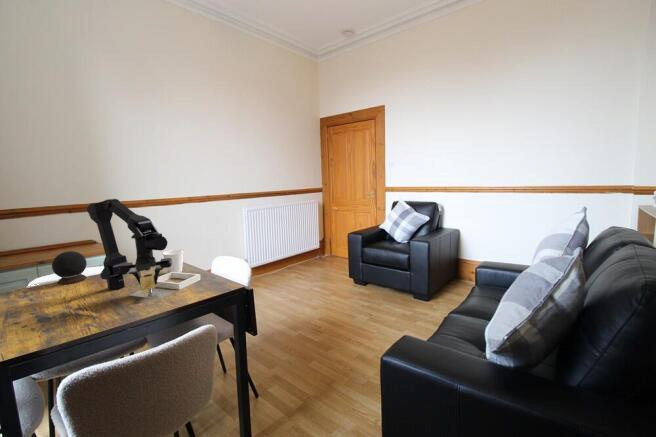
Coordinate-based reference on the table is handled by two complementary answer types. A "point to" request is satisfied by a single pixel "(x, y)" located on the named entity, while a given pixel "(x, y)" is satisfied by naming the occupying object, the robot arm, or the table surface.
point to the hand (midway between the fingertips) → (148, 285)
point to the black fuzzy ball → (69, 267)
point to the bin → (171, 285)
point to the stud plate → (153, 293)
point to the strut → (147, 283)
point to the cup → (175, 260)
